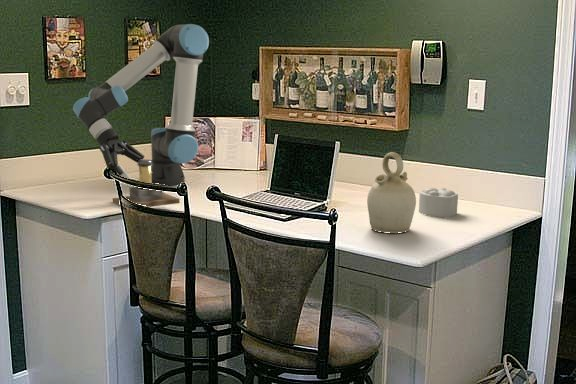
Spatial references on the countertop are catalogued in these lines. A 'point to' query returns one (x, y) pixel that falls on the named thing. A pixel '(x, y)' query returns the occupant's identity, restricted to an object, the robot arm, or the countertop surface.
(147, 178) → the gold cylindrical piece
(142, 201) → the hitch socket board
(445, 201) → the lumpy-topped squat cylinder
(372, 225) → the jug
